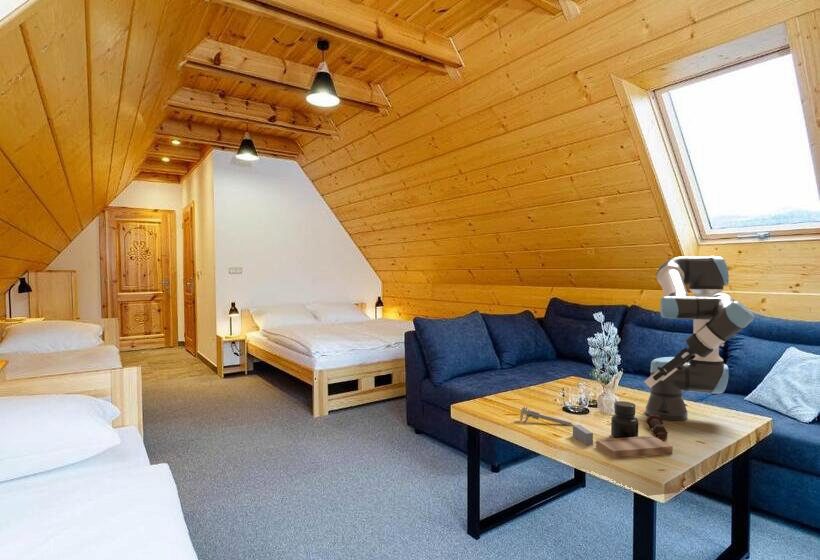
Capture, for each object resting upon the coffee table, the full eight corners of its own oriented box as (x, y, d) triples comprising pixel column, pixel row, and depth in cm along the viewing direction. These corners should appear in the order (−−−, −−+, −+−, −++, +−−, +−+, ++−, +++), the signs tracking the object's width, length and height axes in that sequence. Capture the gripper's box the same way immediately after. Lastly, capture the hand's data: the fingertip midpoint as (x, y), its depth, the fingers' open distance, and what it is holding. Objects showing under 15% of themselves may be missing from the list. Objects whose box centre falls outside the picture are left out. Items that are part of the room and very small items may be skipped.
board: (651, 442, 165) (651, 435, 165) (672, 453, 155) (672, 446, 155) (596, 446, 161) (596, 439, 161) (613, 458, 151) (613, 450, 151)
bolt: (659, 446, 166) (651, 430, 180) (674, 440, 165) (664, 425, 179) (650, 431, 167) (643, 417, 181) (664, 425, 165) (656, 411, 180)
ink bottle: (639, 435, 172) (639, 402, 172) (640, 443, 164) (640, 408, 164) (610, 431, 176) (610, 399, 176) (609, 439, 168) (609, 405, 168)
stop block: (579, 435, 172) (579, 424, 172) (592, 444, 163) (592, 433, 163) (572, 436, 172) (572, 425, 172) (586, 445, 163) (586, 433, 163)
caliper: (520, 421, 189) (520, 406, 188) (520, 420, 190) (520, 405, 189) (575, 426, 182) (575, 410, 182) (574, 425, 183) (574, 409, 183)
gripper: (704, 355, 141) (650, 397, 152) (722, 345, 160) (672, 383, 170) (684, 336, 145) (633, 378, 155) (704, 328, 163) (656, 366, 174)
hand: (653, 381), depth 163 cm, fingers open, 13 cm apart
